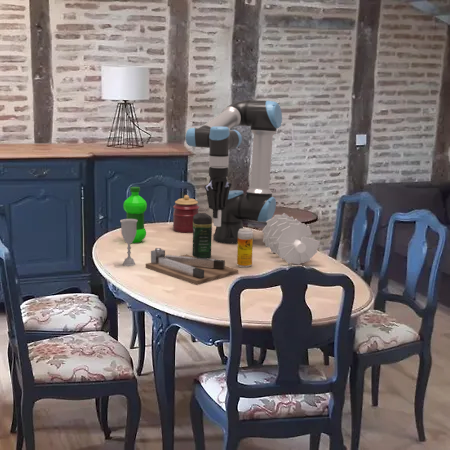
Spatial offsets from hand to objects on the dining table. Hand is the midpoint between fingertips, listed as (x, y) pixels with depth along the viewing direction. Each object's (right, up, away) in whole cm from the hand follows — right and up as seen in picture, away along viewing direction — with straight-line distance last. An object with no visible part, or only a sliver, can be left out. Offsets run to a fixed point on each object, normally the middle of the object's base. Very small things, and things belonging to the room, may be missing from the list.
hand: (217, 225), depth 273 cm
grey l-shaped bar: (-15, -17, -5) cm, 23 cm away
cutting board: (-10, -18, -1) cm, 20 cm away
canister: (-16, -2, +67) cm, 69 cm away
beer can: (+11, -16, +8) cm, 21 cm away
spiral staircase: (+30, -14, +19) cm, 39 cm away
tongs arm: (-9, -16, 0) cm, 18 cm away
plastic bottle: (-38, -7, +42) cm, 57 cm away
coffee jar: (-7, -13, +19) cm, 24 cm away
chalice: (-36, -16, +6) cm, 39 cm away
